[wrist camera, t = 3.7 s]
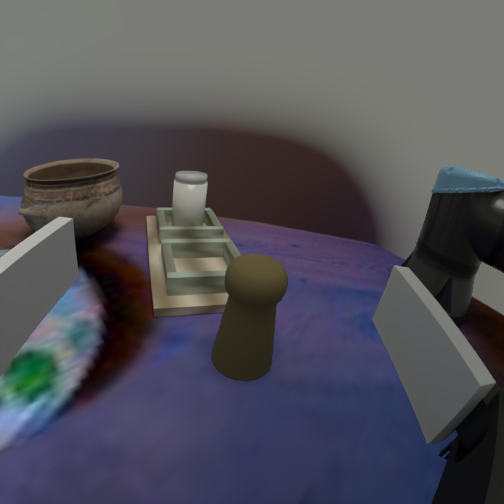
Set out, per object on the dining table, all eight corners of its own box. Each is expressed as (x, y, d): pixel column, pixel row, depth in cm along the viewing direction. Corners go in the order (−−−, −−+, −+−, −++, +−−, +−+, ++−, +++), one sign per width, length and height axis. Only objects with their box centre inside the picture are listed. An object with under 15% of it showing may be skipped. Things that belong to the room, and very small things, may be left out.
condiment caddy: (215, 221, 61) (216, 204, 59) (268, 308, 37) (274, 283, 35) (146, 221, 56) (147, 204, 54) (154, 316, 32) (153, 289, 30)
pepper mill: (254, 333, 32) (272, 242, 28) (282, 370, 28) (311, 275, 23) (202, 344, 29) (210, 248, 25) (226, 387, 25) (242, 287, 20)
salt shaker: (199, 225, 55) (204, 171, 51) (205, 237, 50) (211, 178, 46) (169, 225, 53) (173, 170, 48) (172, 237, 48) (176, 177, 44)
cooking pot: (74, 207, 58) (73, 154, 52) (146, 219, 57) (148, 159, 52) (-4, 254, 35) (-15, 183, 30) (73, 280, 35) (64, 192, 29)
